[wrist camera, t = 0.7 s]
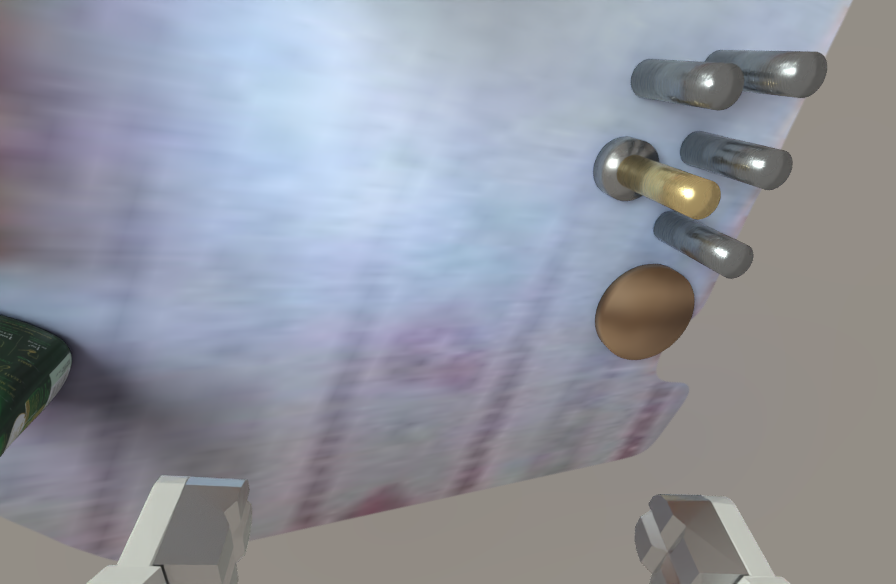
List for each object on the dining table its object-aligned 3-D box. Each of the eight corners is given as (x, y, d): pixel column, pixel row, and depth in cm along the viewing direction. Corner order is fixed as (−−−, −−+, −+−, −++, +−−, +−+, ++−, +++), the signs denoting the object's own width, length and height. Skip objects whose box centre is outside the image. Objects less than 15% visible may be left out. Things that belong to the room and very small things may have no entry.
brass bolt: (597, 137, 48) (677, 164, 38) (651, 135, 49) (743, 160, 39) (589, 197, 51) (663, 238, 40) (641, 193, 52) (726, 232, 41)
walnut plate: (601, 268, 54) (609, 274, 53) (694, 259, 57) (703, 264, 55) (589, 358, 59) (595, 365, 58) (675, 346, 61) (683, 353, 60)
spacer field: (663, 246, 55) (730, 285, 46) (571, 134, 47) (630, 155, 39) (777, 137, 52) (871, 156, 44) (699, 0, 45) (793, -10, 36)
